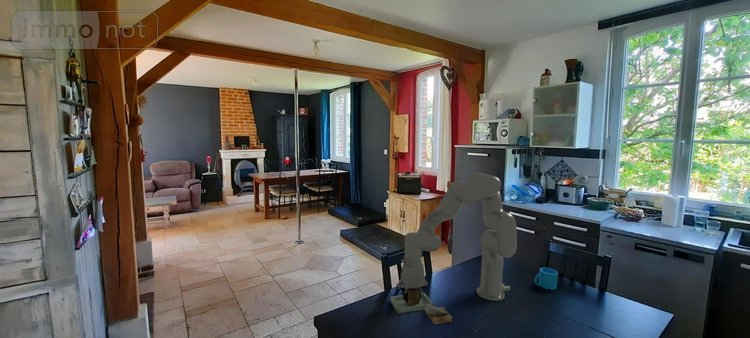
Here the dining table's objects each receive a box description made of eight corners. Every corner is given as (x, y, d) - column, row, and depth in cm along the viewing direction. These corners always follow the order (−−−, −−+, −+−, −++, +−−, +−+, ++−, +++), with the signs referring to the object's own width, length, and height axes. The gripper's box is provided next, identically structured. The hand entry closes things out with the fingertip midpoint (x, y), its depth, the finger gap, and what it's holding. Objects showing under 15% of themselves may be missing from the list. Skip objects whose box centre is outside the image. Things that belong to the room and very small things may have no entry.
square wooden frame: (443, 311, 137) (443, 306, 137) (452, 321, 130) (452, 317, 129) (425, 313, 135) (426, 309, 135) (434, 324, 128) (434, 319, 127)
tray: (423, 296, 149) (423, 292, 149) (433, 308, 139) (433, 304, 139) (390, 300, 145) (390, 296, 145) (397, 313, 135) (397, 309, 135)
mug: (548, 281, 167) (549, 266, 166) (560, 289, 159) (561, 273, 158) (528, 284, 164) (529, 268, 163) (540, 291, 156) (541, 275, 155)
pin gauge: (443, 309, 134) (427, 303, 132) (446, 313, 132) (429, 306, 129) (440, 315, 134) (424, 309, 132) (443, 318, 132) (426, 312, 129)
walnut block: (414, 298, 145) (415, 285, 144) (419, 303, 140) (419, 291, 140) (404, 299, 144) (404, 286, 143) (408, 305, 139) (408, 292, 138)
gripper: (397, 266, 134) (396, 307, 136) (434, 262, 138) (433, 302, 140) (391, 259, 141) (391, 298, 143) (427, 256, 146) (426, 293, 148)
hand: (411, 299), depth 142 cm, fingers open, 5 cm apart
